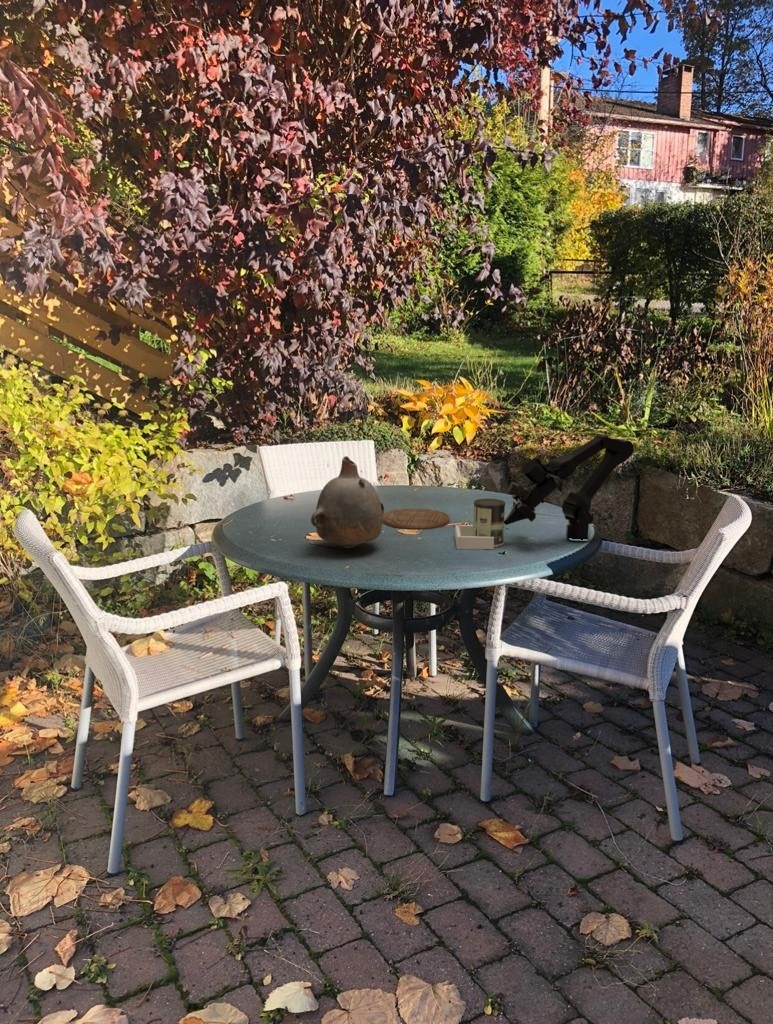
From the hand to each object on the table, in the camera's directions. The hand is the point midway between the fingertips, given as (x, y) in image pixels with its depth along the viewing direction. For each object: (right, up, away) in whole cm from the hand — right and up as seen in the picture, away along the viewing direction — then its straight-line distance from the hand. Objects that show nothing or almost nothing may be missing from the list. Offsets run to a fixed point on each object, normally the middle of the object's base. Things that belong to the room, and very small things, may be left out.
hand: (504, 523), depth 262 cm
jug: (-51, -8, -5) cm, 52 cm away
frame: (-10, -6, +2) cm, 12 cm away
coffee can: (-5, -7, +2) cm, 9 cm away
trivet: (-28, 0, +30) cm, 42 cm away
